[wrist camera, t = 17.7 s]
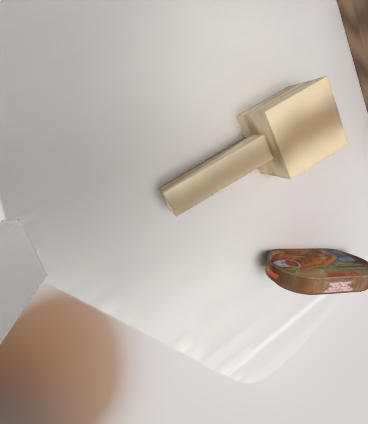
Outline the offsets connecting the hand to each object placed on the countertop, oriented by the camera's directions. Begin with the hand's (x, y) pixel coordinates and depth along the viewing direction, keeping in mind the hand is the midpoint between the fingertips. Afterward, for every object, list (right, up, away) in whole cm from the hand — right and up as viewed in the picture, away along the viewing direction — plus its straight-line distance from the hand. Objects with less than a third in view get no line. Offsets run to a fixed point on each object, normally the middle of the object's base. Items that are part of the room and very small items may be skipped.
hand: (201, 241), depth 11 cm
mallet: (+6, +8, +28) cm, 30 cm away
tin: (+17, -6, +35) cm, 39 cm away
